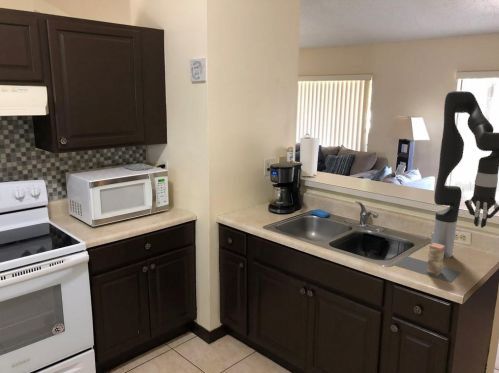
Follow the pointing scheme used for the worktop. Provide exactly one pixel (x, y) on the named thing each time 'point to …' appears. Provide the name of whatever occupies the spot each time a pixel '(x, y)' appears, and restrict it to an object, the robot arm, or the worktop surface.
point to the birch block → (435, 259)
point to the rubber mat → (421, 268)
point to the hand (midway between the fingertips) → (479, 226)
